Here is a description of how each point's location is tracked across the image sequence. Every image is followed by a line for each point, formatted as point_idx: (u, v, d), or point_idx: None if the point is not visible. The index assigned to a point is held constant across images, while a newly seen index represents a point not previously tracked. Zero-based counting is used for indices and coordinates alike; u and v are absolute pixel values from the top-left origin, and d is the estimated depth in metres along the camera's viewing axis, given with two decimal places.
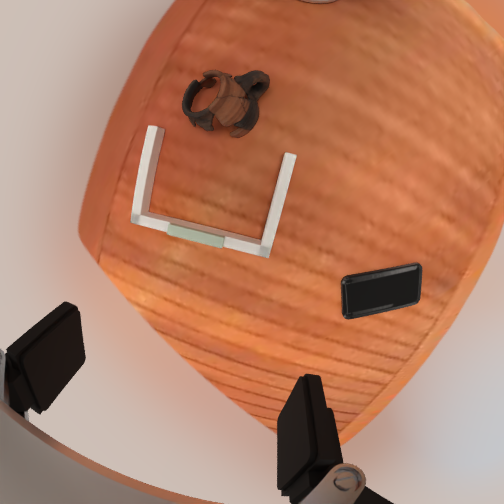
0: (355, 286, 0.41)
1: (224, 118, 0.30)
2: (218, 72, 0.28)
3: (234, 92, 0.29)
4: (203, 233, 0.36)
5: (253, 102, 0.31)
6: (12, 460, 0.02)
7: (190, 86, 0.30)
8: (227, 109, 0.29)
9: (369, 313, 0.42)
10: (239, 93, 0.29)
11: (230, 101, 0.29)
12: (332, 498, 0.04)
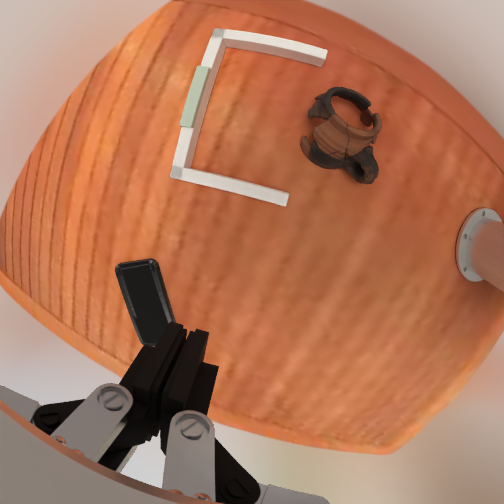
0: (148, 275, 0.38)
1: (321, 130, 0.26)
2: (378, 129, 0.25)
3: (352, 144, 0.26)
4: (196, 104, 0.28)
5: (340, 163, 0.29)
6: (12, 460, 0.02)
7: (363, 98, 0.26)
8: (332, 134, 0.26)
9: (123, 293, 0.39)
10: (351, 150, 0.26)
11: (342, 138, 0.26)
12: (190, 450, 0.05)
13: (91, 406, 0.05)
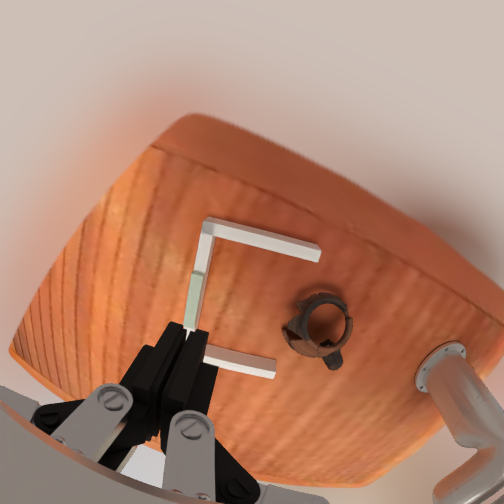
0: None
1: (297, 345, 0.33)
2: (346, 339, 0.32)
3: (322, 354, 0.33)
4: (196, 311, 0.34)
5: None
6: (12, 460, 0.02)
7: (340, 305, 0.33)
8: (305, 349, 0.33)
9: None
10: (320, 356, 0.33)
11: (313, 352, 0.32)
12: (190, 450, 0.05)
13: (91, 406, 0.05)
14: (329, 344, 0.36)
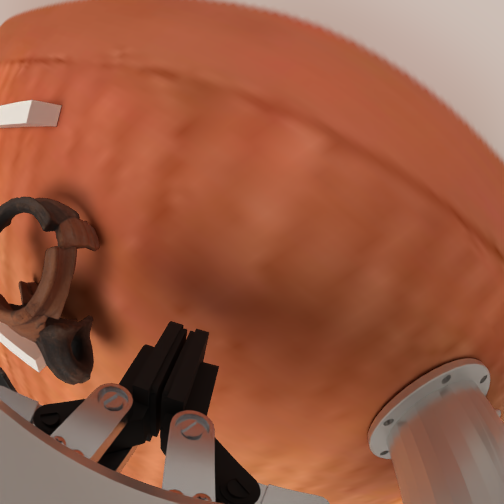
0: (2, 380, 0.23)
1: None
2: (37, 302, 0.10)
3: (18, 329, 0.10)
4: None
5: None
6: (12, 460, 0.02)
7: (35, 213, 0.11)
8: None
9: None
10: (24, 336, 0.11)
11: None
12: (190, 450, 0.05)
13: (91, 406, 0.05)
14: None
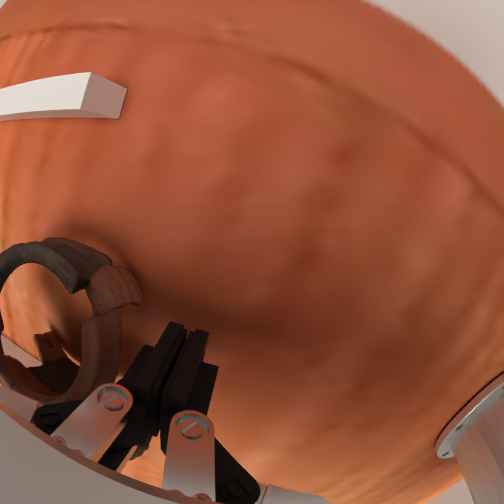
0: None
1: None
2: (82, 392, 0.07)
3: None
4: None
5: None
6: (12, 460, 0.02)
7: (53, 268, 0.08)
8: None
9: None
10: None
11: None
12: (190, 450, 0.05)
13: (91, 406, 0.05)
14: None
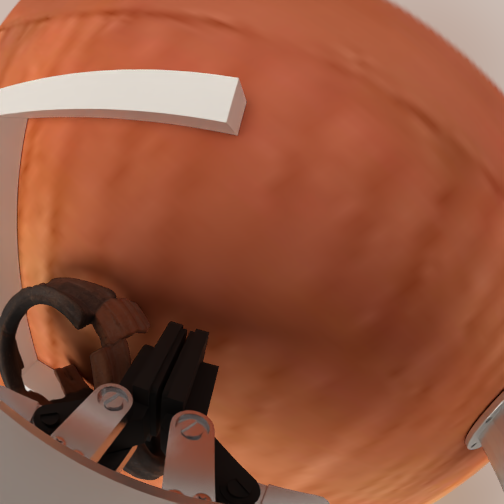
0: None
1: None
2: None
3: None
4: None
5: None
6: (12, 460, 0.02)
7: (59, 307, 0.09)
8: None
9: None
10: None
11: None
12: (190, 450, 0.05)
13: (91, 406, 0.05)
14: None
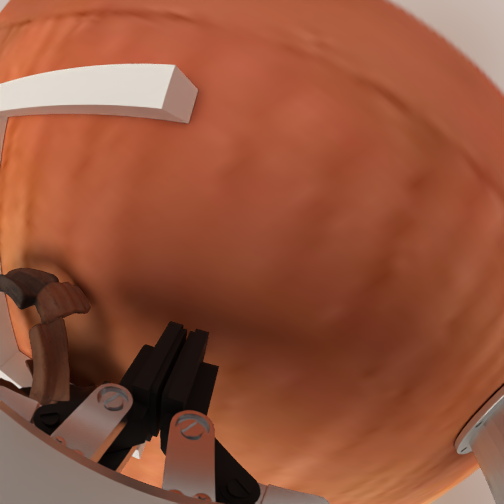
0: None
1: None
2: (38, 391, 0.07)
3: None
4: None
5: None
6: (12, 460, 0.02)
7: (7, 291, 0.08)
8: None
9: None
10: None
11: None
12: (190, 450, 0.05)
13: (91, 406, 0.05)
14: None
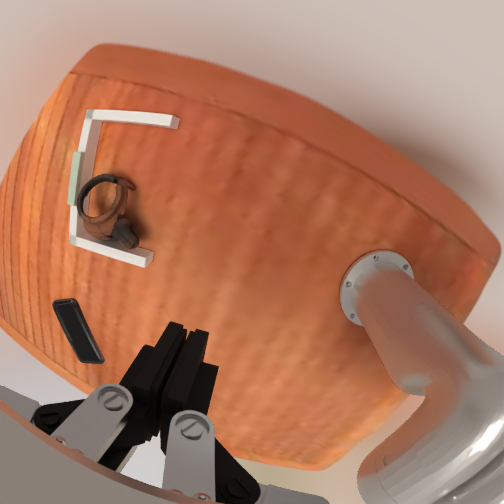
0: (72, 310, 0.42)
1: (85, 227, 0.32)
2: (115, 204, 0.31)
3: (103, 228, 0.32)
4: (75, 187, 0.32)
5: (115, 239, 0.35)
6: (12, 460, 0.02)
7: (107, 177, 0.32)
8: (89, 228, 0.32)
9: (60, 322, 0.44)
10: (105, 232, 0.32)
11: (95, 228, 0.31)
12: (190, 450, 0.05)
13: (91, 406, 0.05)
14: (128, 226, 0.35)
